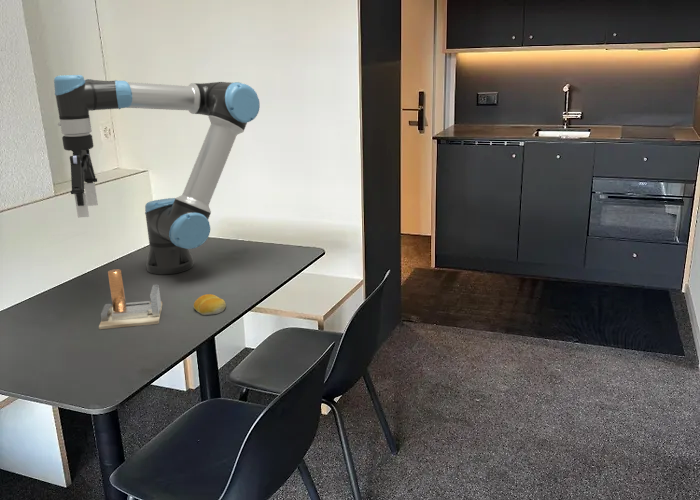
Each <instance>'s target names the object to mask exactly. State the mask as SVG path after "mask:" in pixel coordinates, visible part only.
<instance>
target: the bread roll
mask: <svg viewBox="0 0 700 500" xmlns="http://www.w3.org/2000/svg"><path fill="white" fill-rule="evenodd" d="M226 305H227V304H226V301H225V299H223V298H221V297H219V296H217V295H215V294H213V293H212V294H210V293H208V294H203V295H200V296H199V297H198V298H197V299H195V300H194V302H193V308H194V310H195V311H196V312H197V313H199V314H200V315H203V316H209V315H212V316H213V315H217V314H220V313H222V312H224V310H225V309H226V307H227V306H226Z"/></svg>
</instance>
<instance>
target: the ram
mask: <svg viewBox="0 0 700 500" xmlns="http://www.w3.org/2000/svg"><path fill="white" fill-rule="evenodd" d="M107 274H108V282H109V283H108V284H109V289H110V296H111V298H110V299H111V302H112V303H111V305H112V306H113V311H114V312H124V311H135V310H146V309H147V310H148V314H151V313H152V316H159V312H160V307H161V302H162V300H161V291H160V286H159V284H152V287H151V291H150V294H149V298H150V303H151V304H146V305H134V306H126V303H127V302H126V296H125V288H124V281H123V273H122V270H121V269H118V268H117V269H116V268H115V269H111V270H108V271H107Z"/></svg>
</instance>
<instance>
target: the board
mask: <svg viewBox="0 0 700 500" xmlns="http://www.w3.org/2000/svg"><path fill="white" fill-rule="evenodd" d="M150 304H151V302H150ZM162 309H163V301H161V307H160V312H159V316H152V313H151V314H148V317H145V318H134V319H124V320H113V319H112V313H113V312H114V311H113V305H112V312H111V315H110V317H109V320H108V321H102V320H100V323H99V325H98V330H106V329H107V330H110V329H117V328H129V327H139V326H140V327H141V326H150V325H159V324H160V320H161V314H162Z"/></svg>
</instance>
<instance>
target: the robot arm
mask: <svg viewBox="0 0 700 500" xmlns="http://www.w3.org/2000/svg"><path fill="white" fill-rule="evenodd" d="M53 79H54V80H53V85H54V86H53V87H54V95H55V100H56V106H57V112H58V118H59V122H58V123H57V125H58V127H60V130H61V131H60V133H61V134H62V135H63V136H62V137H61V138H62V146H63V149H64V150H65V151H68V152H69V151H71V152H72V155H69V162H70V177H71V178H70V179H71V190H70V195H74V200H75V207H76V213H77V218H89V217H90V214H89V207H91V206H92V207H93V206H98V198H97V191H96V190H97V189H96V184H95V183H97V182H98V178H97V177H96V173H95V171H94V166H93V163H92V158H91V155H90V154H91V153H90V150H91V149H93V148H94V139H93V135H92V134H91V133H92V124H91V117H90V112H89V111H103V110H117V109H118V110H121V109H144V110H145V109H147V110H148V109H149V110H166V111H167V110H169V111H188V112H189V113H190V114H192V115H203V116H208V119H209V122H210V125H209V127H208V130H207V133H206V135H205V138H204V140H203V143H202V145H201V148H200V150H199V152H198V155H197V158H196V160H195V163H194V165H193V168H192V170H191V172H190V175H189V177H188V179H187V182H186V185H185V187H184V190H183V192H182V194H180V195H179V196H177V197H172V198H171V197H169V198H161V199H155V200H151V201H147V203H145V206H144V207H145V208H144V209H145V212H144V214H145V220H146V227H147V228H146V229H147V235H148V244H149V249H148V253H147V257H146V261H145V266H146V271H147V272H148V273H150V274H153V275H154V274H155V275H174V274H179V273H183V272H186V271H188V270H190V269H191V268H193V267H194V265H195V264H194V258H193V255H192V253H191V251H190V250H192V249H196V248H198V247H200V246H202V245H203V244H204V243H205V242H206V241H207V240H208V238H209V236H210V234H211V225H210V221H209V219H210V217H211V213H212V210H211V207H210V202H211V200H212V198H213V196H214V193H215V190H216V188H217V186H218V183H219V180H220V178H221V175H222V174H223V170H224V169H225V167H226V166H225V165H226V164H227V161H228V158H229V156H230V152H231V151H232V148H233V146H234V143H235V140H236V137H237V136H238V135H240V134H242V133H244V131H245V129H246V127H247V124H248V123H250V122H252V121H253V120H255V119H256V118H257V116H258V114H259V112H260V99H259V96H258V94H257V92H256V90H255V89H254V88H253V87H252V86H250V85H249V84H247V83H242V82H239V81H238V82H230V81H229V82H227V81H217V82H214V81H213V82H202V83H199V82H198V83H194V82H192V83H189V84H188V85H177V84H163V83H162V84H160V83H159V84H158V83H148V82H147V83H146V82H145V83H144V82H133V81H132V82H131V81H130V82H128V81H126V80H117V79H115V80H102V79H101V80H100V79H99V80H97V79H88V78H87V79H85V78H84V76H83V75H82V74H69V75H67V74H65V75H64V74H63V75H62V74H61V75H57V76H55V77H54V78H53Z"/></svg>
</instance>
